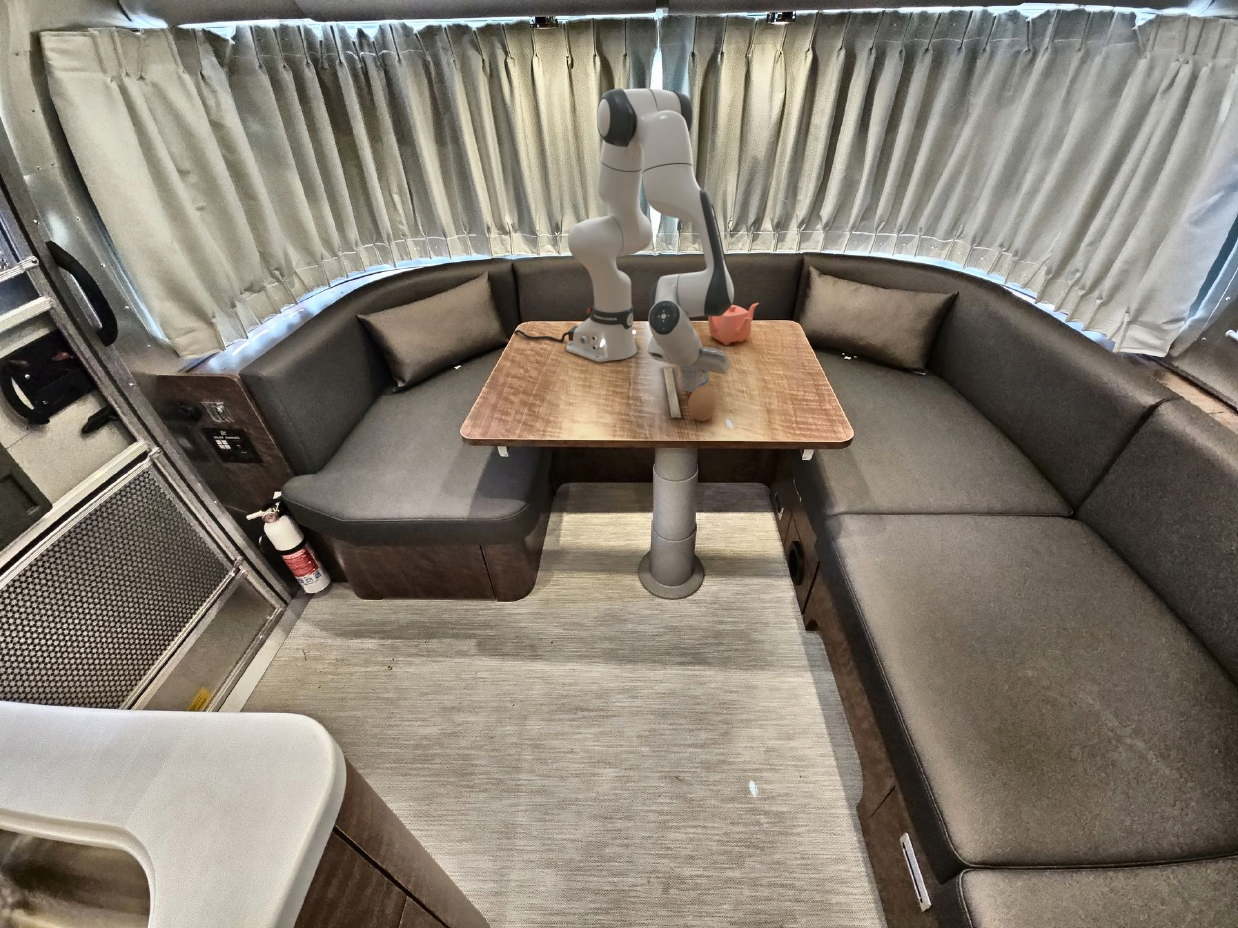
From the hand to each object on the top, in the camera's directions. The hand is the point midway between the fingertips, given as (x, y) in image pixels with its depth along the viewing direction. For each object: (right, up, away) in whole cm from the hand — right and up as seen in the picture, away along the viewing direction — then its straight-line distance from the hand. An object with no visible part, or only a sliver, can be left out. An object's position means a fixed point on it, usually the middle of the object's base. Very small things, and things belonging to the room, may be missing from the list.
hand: (696, 368), depth 140 cm
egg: (0, -14, -9) cm, 17 cm away
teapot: (+16, +14, +31) cm, 37 cm away
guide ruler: (-6, -6, +3) cm, 9 cm away
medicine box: (0, -5, +2) cm, 5 cm away
